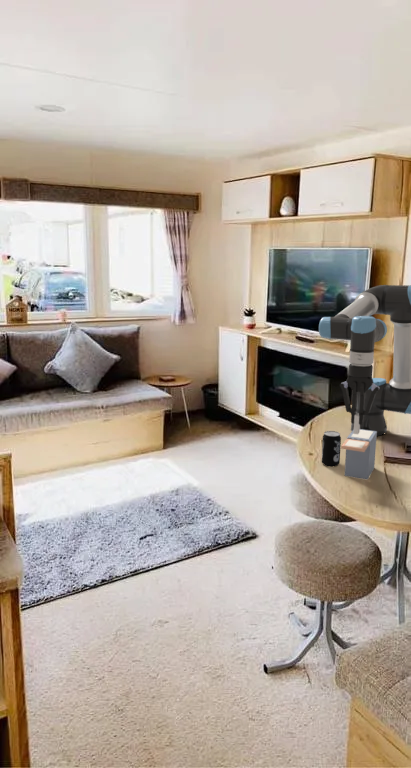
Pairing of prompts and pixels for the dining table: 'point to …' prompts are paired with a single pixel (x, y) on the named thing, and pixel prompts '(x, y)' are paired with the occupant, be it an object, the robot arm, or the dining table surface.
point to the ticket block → (361, 456)
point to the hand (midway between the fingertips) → (356, 432)
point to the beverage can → (331, 448)
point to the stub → (355, 445)
